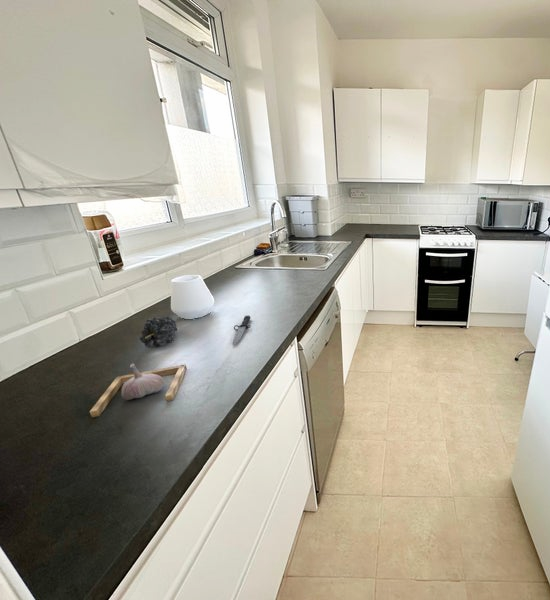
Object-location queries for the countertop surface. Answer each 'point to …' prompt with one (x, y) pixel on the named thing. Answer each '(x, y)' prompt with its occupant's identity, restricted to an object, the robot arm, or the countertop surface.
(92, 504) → the countertop surface
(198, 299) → the white tapered hollow cylinder
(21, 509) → the countertop surface
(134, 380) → the garlic bulb
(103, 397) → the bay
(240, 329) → the knife
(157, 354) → the countertop surface
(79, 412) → the countertop surface
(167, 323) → the fruit
